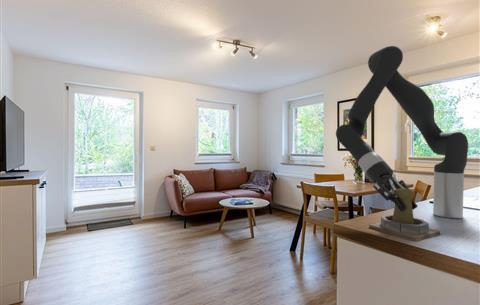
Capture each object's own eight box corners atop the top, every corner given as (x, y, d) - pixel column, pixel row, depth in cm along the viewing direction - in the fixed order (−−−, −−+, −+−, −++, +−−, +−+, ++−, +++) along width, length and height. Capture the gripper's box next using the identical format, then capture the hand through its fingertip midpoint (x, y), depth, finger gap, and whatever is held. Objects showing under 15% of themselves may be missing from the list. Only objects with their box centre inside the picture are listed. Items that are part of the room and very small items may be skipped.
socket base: (394, 222, 92) (394, 212, 92) (440, 234, 79) (440, 222, 79) (369, 227, 85) (369, 217, 85) (414, 241, 73) (414, 228, 73)
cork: (418, 226, 79) (419, 190, 78) (396, 225, 80) (397, 189, 80) (409, 221, 85) (410, 187, 84) (389, 219, 86) (390, 186, 86)
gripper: (368, 160, 85) (405, 204, 75) (394, 160, 92) (432, 200, 81) (354, 174, 90) (387, 218, 79) (380, 173, 97) (413, 213, 86)
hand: (409, 208), depth 80 cm, fingers closed on cork, 5 cm apart
